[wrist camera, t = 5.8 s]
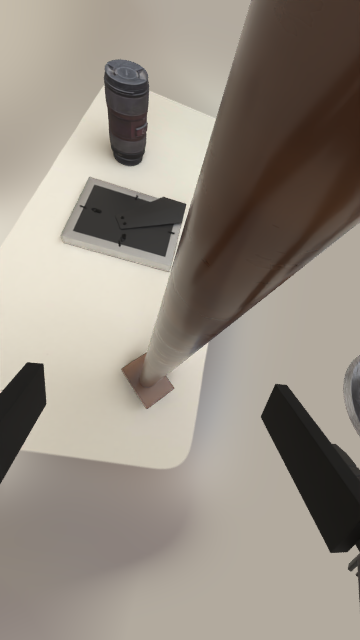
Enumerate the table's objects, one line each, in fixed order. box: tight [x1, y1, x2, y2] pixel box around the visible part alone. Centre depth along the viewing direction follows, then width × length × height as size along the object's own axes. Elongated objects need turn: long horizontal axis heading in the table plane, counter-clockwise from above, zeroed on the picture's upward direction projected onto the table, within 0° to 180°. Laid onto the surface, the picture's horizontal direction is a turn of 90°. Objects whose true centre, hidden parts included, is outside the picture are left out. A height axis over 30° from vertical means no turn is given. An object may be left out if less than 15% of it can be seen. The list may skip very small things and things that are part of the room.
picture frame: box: [61, 177, 186, 272], centre depth 46 cm, size 16×3×21 cm
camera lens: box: [104, 60, 149, 166], centre depth 47 cm, size 8×8×15 cm
